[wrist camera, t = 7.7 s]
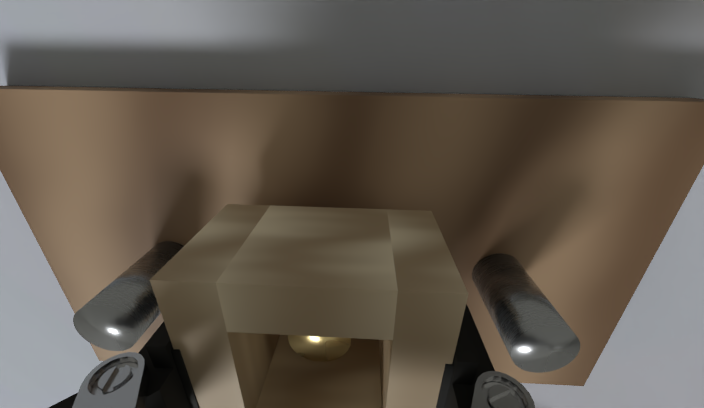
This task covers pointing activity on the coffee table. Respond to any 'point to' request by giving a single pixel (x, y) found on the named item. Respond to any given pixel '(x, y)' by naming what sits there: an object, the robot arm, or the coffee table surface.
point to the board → (361, 196)
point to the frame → (314, 307)
